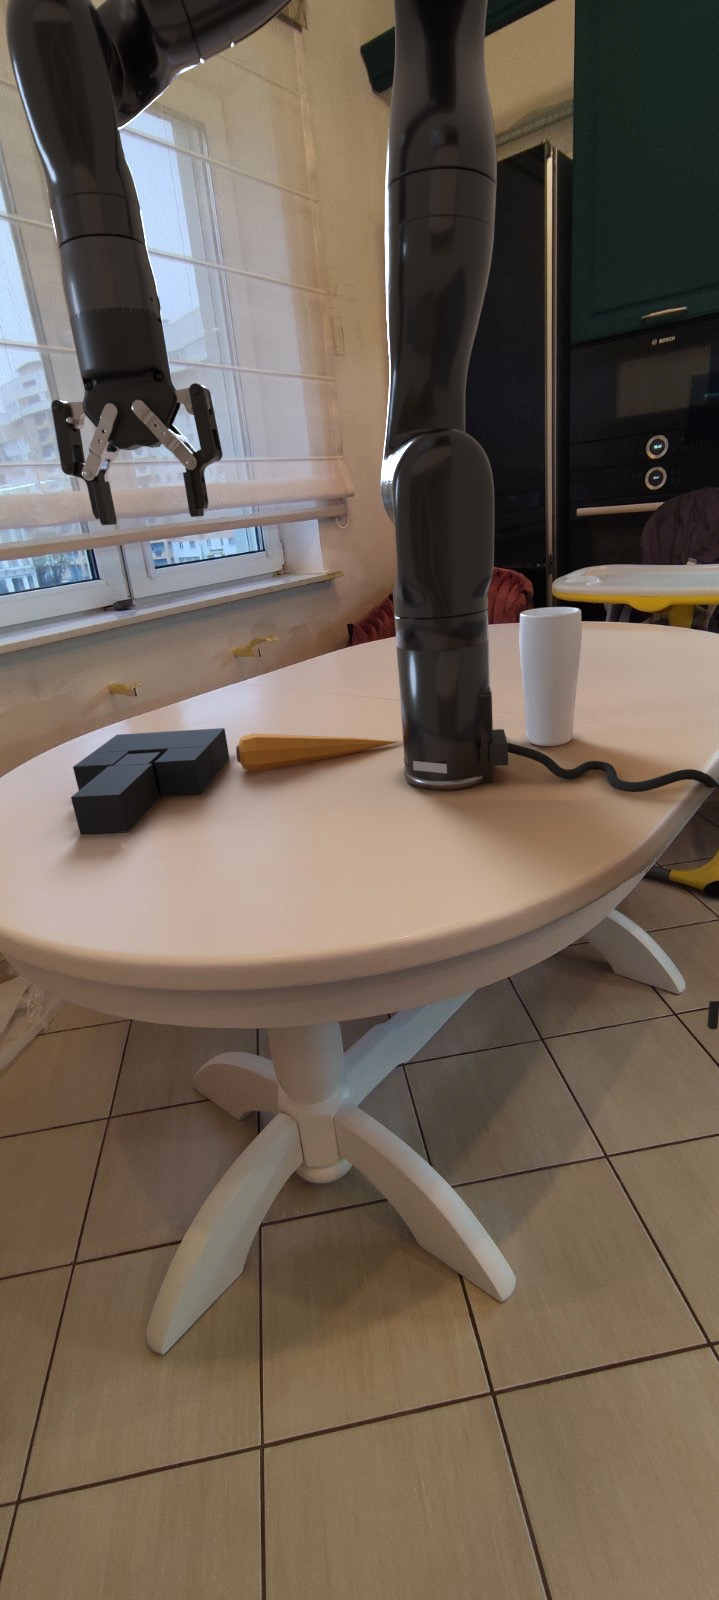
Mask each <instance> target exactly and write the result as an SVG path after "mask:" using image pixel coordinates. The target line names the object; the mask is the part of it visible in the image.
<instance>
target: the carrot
mask: <svg viewBox="0 0 719 1600" xmlns="http://www.w3.org/2000/svg"><path fill="white" fill-rule="evenodd" d="M397 743H398V741H396V740H395V741H394V740H385V739H384V740H383V739H372V738H364V737H363V738H362V737H347V736H346V737H345V736H323V735H321V736H320V735H299V734H298V735H297V734H277V733H276V734H275V733H274V734H273V733H250V734H247V735H246V734H245V735H243V736H241V737H240V738H239V741H238V745H236V748H235V750H236V751H235V753H236V760H237V763H240V766H241V767H242V769H243V770H244V771H248V772H249V771H250V772H257V773H258V772H262V771H268V770H273V769H277V768H284V767H288V766H294V765H299V764H303V763H310V762H315V761H319V760H324V759H325V760H326V759H329V758H330V759H331V758H335V757H341V756H345V755H351V754H356V753H361V752H364V751H369V750H372V749H376V748H380V747H385V746H388V745H393V744H397Z"/></svg>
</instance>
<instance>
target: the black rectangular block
mask: <svg viewBox="0 0 719 1600" xmlns="http://www.w3.org/2000/svg"><path fill="white" fill-rule="evenodd" d="M160 757H161V753H160V752H157V753H139V754H127V755H126V756H124V757H123V758H122V759H121V760H120V761H118V762H117V763H116V764H115V765H114V766H108V767H107V768H106V769H105V770H103V771H102V772H101V773H100V774H99V775H97V776H96V777H95V778H94V779H92V780H91V781H90V782H89V783H88V784H86V785H85V786H84V787H83V788H82V789H80V790H79V789H78V791H77V792H76V793H74V794H73V795H72V796H71V797H70V799H71V803H72V807H73V812H74V816H75V820H76V823H77V826H78V831H79V834H80V835H88V834H89V835H90V834H107V833H108V834H112V833H129V831H130V830H131V829H132V828H133V827H134V826H135V825H136V824H137V822H138V821H140V819H141V818H142V817H143V816H144V815H145V814H146V812H148V811H149V810H150V809H151V807H152V806H153V805H154V804H155V803H156V802H157V801H158V800H159V799H160V795H159V794H161V792H160V787H159V782H158V777H157V772H156V768H155V761H156V760H157V759H159V758H160Z"/></svg>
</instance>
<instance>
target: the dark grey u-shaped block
mask: <svg viewBox="0 0 719 1600" xmlns="http://www.w3.org/2000/svg"><path fill="white" fill-rule="evenodd" d="M157 752H160V753H161V757H160V758H159V759H157V760H156V761H155V768H156V772H157V777H158V782H159V787H160V796H161V797H170V796H189V795H190V796H191V795H193V796H194V795H202V794H203V793H204V791H205V790H206V789H207V787H208V786H209V785H210V784H211V782H212V781H213V780H214V778H216V776H217V775H218V773H220V771H221V770H222V769H223V767H224V766H225V765H226V764H227V763H228V761H229V760H230V753H229V746H228V741H227V735H226V728H225V727H222V728H221V727H220V728H204V729H201V728H200V729H188V730H187V729H186V730H170V731H154V732H152V731H151V732H139V733H138V732H137V733H123V734H116V735H114V736H113V737H111V738H110V739H109V740H107V741H106V742H104V743H103V744H102V745H100V746H99V747H98V748H97V749H95V750H94V751H93V752H91V753H90V754H88V755H86V757H84V758H83V759H82V760H80V761H79V762H76V764H75V765H73V766H72V769H73V774H74V777H75V780H76V785H77V789H78V791H79V790H80V789H82V788H83V787H84V786H85V785H86V784H88V783H89V782H90V781H91V780H92V779H94V778H95V777H96V776H97V775H99V774H100V773H101V772H102V771H103V770H105V769H106V768H107V767H108V766H114V765H115V764H116V763H117V762H118V761H120V760H121V759H122V758H123V757H124V756H126V755H127V754H139V753H157Z"/></svg>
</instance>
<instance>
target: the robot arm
mask: <svg viewBox="0 0 719 1600" xmlns="http://www.w3.org/2000/svg"><path fill="white" fill-rule="evenodd" d="M292 1H293V0H104V2H102V3H101V4H100V5H99V6H97V7H96V5H95V4H94V2H93V0H7V3H6V9H5V35H6V44H7V51H8V55H9V61H10V65H11V69H12V73H13V77H14V80H15V85H16V88H17V91H18V94H19V98H20V102H21V104H22V108H23V111H24V114H25V117H26V121H27V124H28V127H29V132H30V134H31V136H32V140H33V143H34V147H35V149H36V152H37V155H38V159H39V160H40V164H41V168H42V171H43V175H44V179H45V184H46V189H47V198H48V204H49V209H50V215H51V219H52V225H53V229H54V235H55V240H56V246H57V249H58V254H59V261H60V273H61V285H62V289H63V295H64V299H65V303H66V304H65V305H66V309H67V313H68V318H69V324H70V329H71V334H72V338H73V339H72V340H73V343H74V347H75V348H74V349H75V354H76V358H77V363H78V368H79V374H80V377H81V381H82V384H83V389H84V396H83V400H82V401H71V402H70V401H69V402H67V401H64V400H61V399H54V400H52V402H51V405H50V407H51V409H50V410H51V415H52V419H53V426H54V427H53V428H54V432H55V439H56V443H57V444H56V445H57V450H58V456H59V462H60V467H61V471H62V472H63V474H65V475H68V476H73V477H75V478H79V479H81V480H82V481H84V483H85V484H86V488H87V493H88V498H89V501H90V502H89V503H90V506H91V512H92V515H93V516H94V518H95V519H96V520H99V522H100V525H101V526H112V525H113V526H114V525H117V523H118V522H117V521H118V520H117V514H116V510H115V509H116V508H115V505H114V500H113V495H112V490H111V485H110V481H106V478H107V476H108V473H109V471H110V469H111V467H112V464H113V462H114V461H115V460H116V459H117V458H118V455H119V453H120V451H121V450H124V451H136V450H138V449H140V448H143V447H146V448H152V449H153V448H160V447H161V445H163V446H164V447H165V448H166V449H167V450H168V451H169V452H170V453H172V454H173V455H174V457H175V458H176V459H177V461H179V462H180V464H181V465H182V466H183V467H184V468H185V469H184V470H185V471H184V472H182V477H183V482H184V488H185V494H186V500H187V501H186V502H187V506H188V512H189V516H190V517H191V518H197V517H198V518H199V517H204V515H205V511H204V510H208V508H209V504H210V503H209V495H208V490H207V489H208V488H207V483H206V477H205V471H206V468H207V467H208V466H211V465H213V463H215V462H219V461H221V460H222V458H223V449H222V443H221V438H220V434H219V430H218V424H217V420H216V419H217V418H216V414H215V409H214V405H213V399H212V395H211V391H210V390H209V388H207V387H206V386H204V385H202V384H199V383H197V382H194V383H192V384H190V385H189V387H186V388H181V389H176V388H175V385H174V384H173V380H172V373H171V366H170V360H169V354H168V348H167V343H166V336H165V331H164V330H165V329H164V324H163V323H164V322H163V318H162V305H161V304H162V303H161V298H160V296H159V294H158V288H157V282H156V278H155V274H154V271H153V267H152V264H151V259H150V256H149V250H148V246H147V239H146V234H145V228H144V227H145V226H144V220H143V215H142V209H141V203H140V198H139V194H138V190H137V186H136V182H135V179H134V176H133V172H132V170H131V167H130V166H129V162H128V161H127V158H126V155H125V152H124V148H123V144H122V139H121V132H120V130H121V129H122V128H124V127H125V126H127V125H128V124H129V123H130V122H132V121H133V120H135V119H136V118H137V117H138V116H139V115H140V114H141V113H142V112H143V111H145V109H147V108H148V107H149V106H150V105H151V104H152V103H153V102H154V101H156V99H158V98H159V97H160V96H161V95H162V94H163V93H164V92H165V91H166V90H167V89H168V88H169V87H170V85H171V84H173V82H174V81H175V80H176V79H177V78H178V77H179V76H181V74H184V73H185V72H186V71H189V70H191V69H194V68H195V67H197V66H200V65H201V63H202V64H204V63H205V62H207V61H209V60H212V59H213V58H214V57H216V56H218V55H220V54H221V53H224V52H226V51H228V50H229V49H231V48H232V47H233V48H234V47H235V46H236V45H238V44H240V43H242V42H244V41H245V40H248V39H249V38H250V37H252V36H253V35H255V34H256V33H257V32H259V31H260V30H262V29H263V28H264V27H266V26H267V25H268V24H269V23H271V21H272V20H273V21H274V19H275V18H276V17H278V15H280V13H281V12H282V11H283V10H284V9H286V7H288V5H289V4H290V3H291V2H292ZM488 1H489V0H393V14H394V36H395V37H394V41H395V42H394V43H395V44H394V47H395V48H394V70H393V80H392V88H391V97H390V107H389V118H388V131H387V143H386V145H387V146H386V167H385V168H386V169H385V188H384V190H385V191H384V192H385V193H384V258H385V259H384V260H385V261H384V262H385V295H386V296H385V300H386V323H387V342H388V356H389V359H388V362H389V363H388V364H389V386H388V401H387V402H388V403H387V413H386V414H387V415H386V424H385V425H386V427H385V434H384V435H385V437H384V446H383V454H382V462H381V463H382V464H381V471H380V479H379V480H380V482H379V483H380V484H379V491H380V498H381V502H382V506H383V509H384V511H385V513H386V516H387V517H388V518H389V521H391V523H392V525H394V533H395V534H394V535H395V549H396V551H395V552H396V553H395V554H396V576H395V583H394V585H393V590H392V602H393V614H394V629H395V630H394V632H395V644H396V645H395V646H396V656H397V657H396V659H397V661H396V662H397V672H398V674H397V675H398V687H399V689H398V690H399V701H400V715H401V716H400V717H401V729H402V745H403V762H404V768H403V771H404V779H405V780H406V782H408V783H409V784H411V785H413V786H416V787H419V788H424V789H429V790H458V789H463V788H470V787H473V786H476V785H480V784H482V783H493V782H494V781H495V773H494V772H495V769H494V767H505V766H509V754H512V755H515V756H520V757H522V758H523V757H524V758H527V759H530V760H533V761H536V762H537V763H539V764H541V765H543V766H544V767H546V769H547V770H548V771H549V772H551V773H552V774H553V775H554V776H555V777H558V778H559V779H564V780H573V779H576V778H579V777H580V776H583V775H584V774H586V773H587V772H589V771H600V772H603V773H605V776H606V780H607V782H608V783H609V785H610V787H612V788H613V789H615V790H618V791H622V792H626V793H642V792H647V791H653V790H656V789H658V788H659V789H660V788H661V787H664V786H667V785H671V784H673V783H676V782H681V781H695V782H699V783H700V784H702V785H704V786H705V787H707V788H710V789H711V788H713V789H717V788H719V782H717V780H715V778H713V777H712V776H710V775H709V774H707V773H706V772H704V771H702V770H697V769H693V768H691V769H690V768H685V769H680V770H675V771H672V772H668V773H666V774H663V775H660V776H657V777H654V778H651V779H646V780H642V781H626V780H623V779H621V778H619V777H618V774H617V773H618V772H617V771H616V768H615V767H614V766H613V764H611V763H610V762H606V761H602V760H589V761H585V762H583V763H581V764H579V765H577V766H575V767H574V768H571V769H570V768H564V767H562V766H560V765H559V764H558V763H557V762H556V761H555V760H554V759H553V758H552V757H550V756H548V755H547V754H545V753H543V752H541V751H538V750H536V749H533V748H531V747H530V748H529V747H526V746H522V745H519V744H515V743H511V742H508V739H507V736H506V733H505V729H503V728H501V729H499V728H498V729H493V728H494V727H493V725H494V724H493V693H492V689H491V681H490V680H491V679H490V678H491V677H490V675H491V674H490V640H489V638H490V637H489V634H490V633H489V589H490V585H491V582H492V579H493V574H494V565H495V486H494V485H495V484H494V475H493V469H492V466H491V463H490V459H489V456H488V455H487V452H486V451H485V449H484V448H483V446H482V445H481V444H480V443H479V441H478V440H476V439H475V438H474V437H473V436H472V435H470V434H469V433H467V432H466V391H467V381H468V371H469V365H470V361H471V356H472V352H473V347H474V343H475V339H476V335H477V332H478V328H479V323H480V320H481V319H480V318H481V314H482V310H483V306H484V302H485V298H486V293H487V290H488V284H489V278H490V273H491V266H492V260H493V252H494V251H493V250H494V243H495V242H494V241H495V228H496V227H495V225H496V209H497V208H496V206H497V191H498V189H497V187H498V155H497V154H498V152H497V151H498V150H497V141H496V140H497V139H496V131H495V123H494V122H495V121H494V116H493V110H492V109H493V108H492V103H491V98H490V92H489V86H488V80H487V74H486V73H487V72H486V61H485V60H486V59H485V41H486V40H485V39H486V22H487V10H488ZM181 404H182V405H183V406H184V408H185V410H186V412H187V413H188V414H189V415H191V416H193V418H194V419H193V420H194V423H195V428H196V432H197V437H198V442H199V446H200V448H199V450H197V451H196V450H195V449H194V448H193V446H192V445H191V443H190V442H189V441H188V439H187V437H185V435H183V433H182V432H181V431H180V430H179V429H178V428H177V427H176V426H175V424H174V422H175V420H176V418H177V415H178V413H179V410H180V408H181ZM86 417H87V419H88V420H89V421H90V422H91V423H92V425H94V427H95V428H96V429H95V431H94V433H93V437H92V439H91V441H90V444H89V446H88V455H87V457H86V459H85V453H84V446H83V440H82V434H81V430H82V429H83V427H84V426H85V418H86ZM718 1024H719V1000H709V1001H708V1013H707V1025H706V1026H707V1028H708V1029H709V1030H718V1026H719V1025H718Z"/></svg>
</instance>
